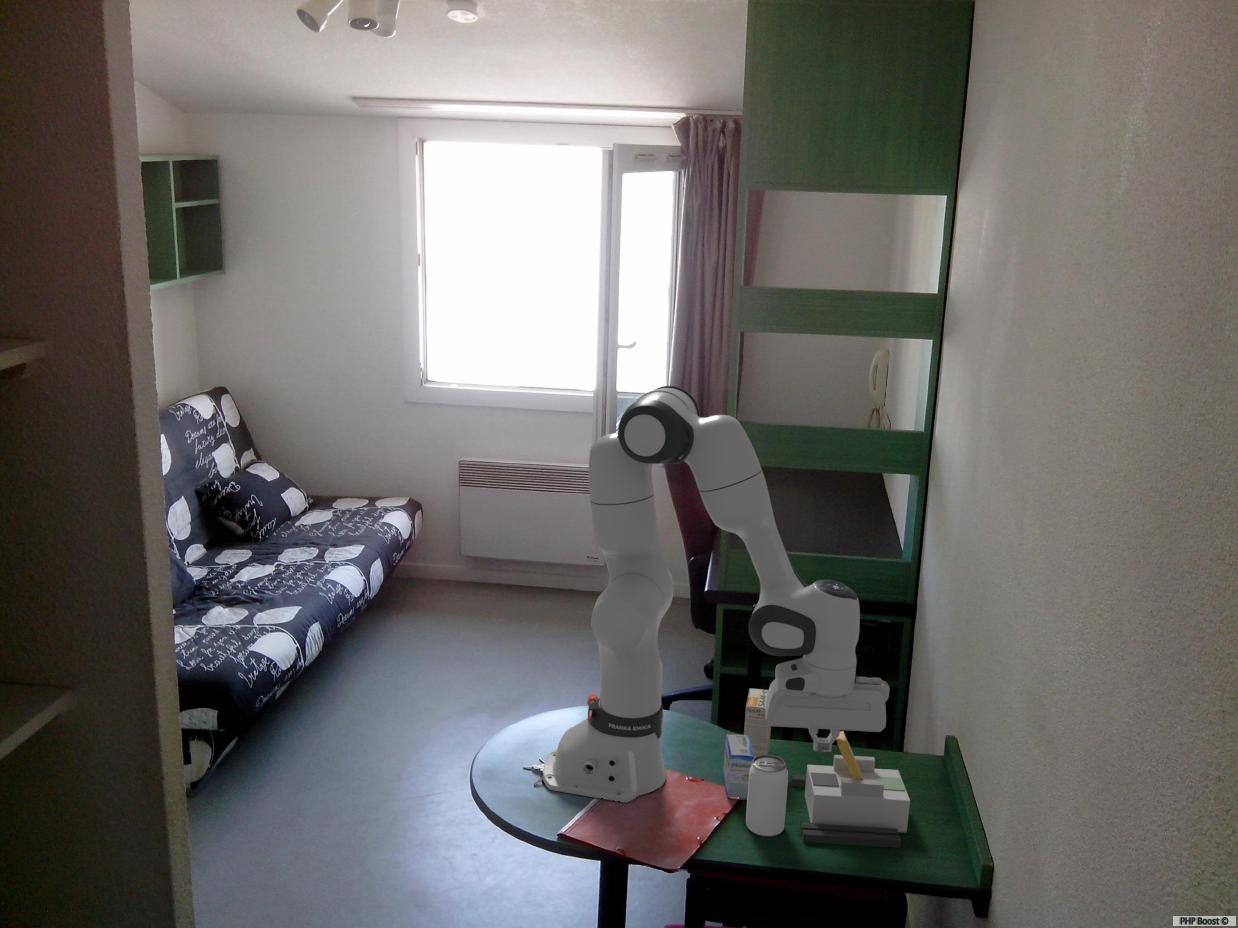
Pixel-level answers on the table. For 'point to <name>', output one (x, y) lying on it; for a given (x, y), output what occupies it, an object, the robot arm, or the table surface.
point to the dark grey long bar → (798, 780)
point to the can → (767, 795)
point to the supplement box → (757, 722)
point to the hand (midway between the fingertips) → (822, 749)
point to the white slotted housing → (856, 795)
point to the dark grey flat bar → (850, 835)
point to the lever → (849, 757)
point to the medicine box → (737, 765)
